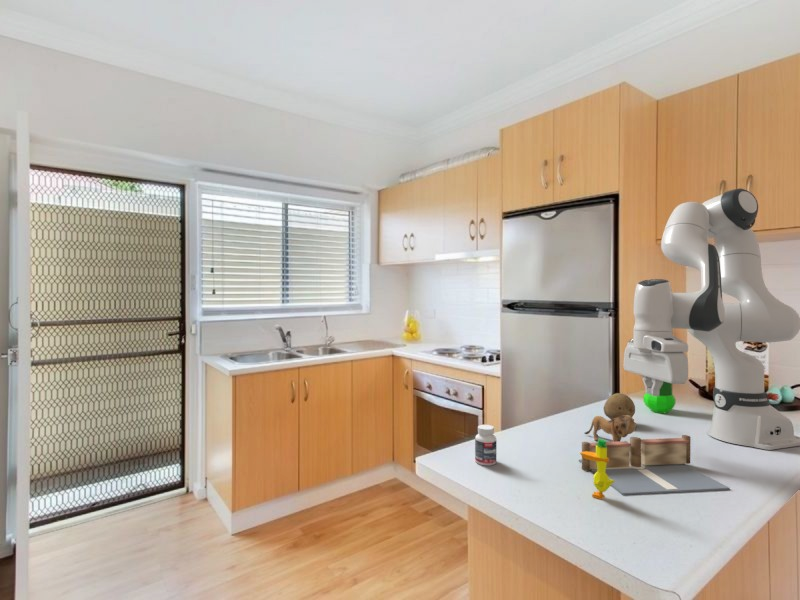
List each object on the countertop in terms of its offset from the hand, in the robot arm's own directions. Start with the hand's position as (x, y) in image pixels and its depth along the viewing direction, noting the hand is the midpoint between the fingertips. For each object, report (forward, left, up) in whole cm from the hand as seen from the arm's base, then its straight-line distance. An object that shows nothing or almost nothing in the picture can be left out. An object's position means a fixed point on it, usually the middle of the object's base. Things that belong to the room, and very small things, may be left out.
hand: (652, 394), depth 110 cm
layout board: (+9, +11, -16) cm, 21 cm away
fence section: (+15, +7, -16) cm, 23 cm away
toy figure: (+26, +20, -16) cm, 37 cm away
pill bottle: (+44, 0, -16) cm, 47 cm away
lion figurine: (+5, -10, -16) cm, 20 cm away
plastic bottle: (-30, -38, -16) cm, 51 cm away
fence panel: (+1, +7, -15) cm, 17 cm away
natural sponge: (-7, -25, -16) cm, 31 cm away
